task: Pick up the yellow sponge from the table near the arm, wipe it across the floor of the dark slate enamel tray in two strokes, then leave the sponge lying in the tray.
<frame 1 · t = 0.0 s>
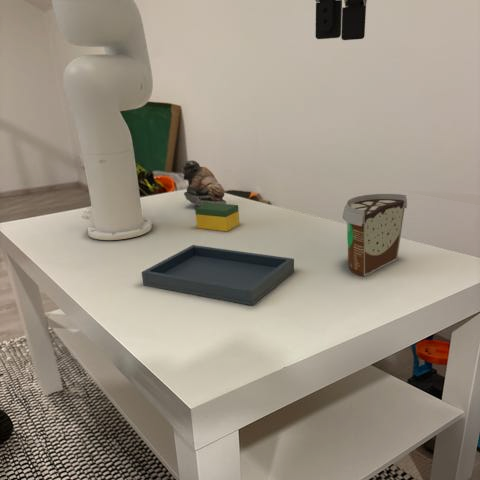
hand: (341, 38, 68), 31 cm above the table, tool pointing down, fingers open, 9 cm apart
sponge: (218, 226, 103), on the table
food container: (363, 264, 80), on the table
tray: (219, 278, 77), on the table
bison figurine: (204, 208, 117), on the table
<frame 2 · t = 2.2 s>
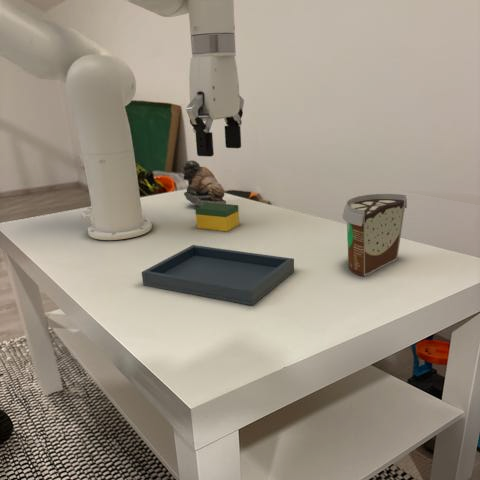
hand: (220, 151, 95), 15 cm above the table, tool pointing down, fingers open, 9 cm apart
nothing on the table moved.
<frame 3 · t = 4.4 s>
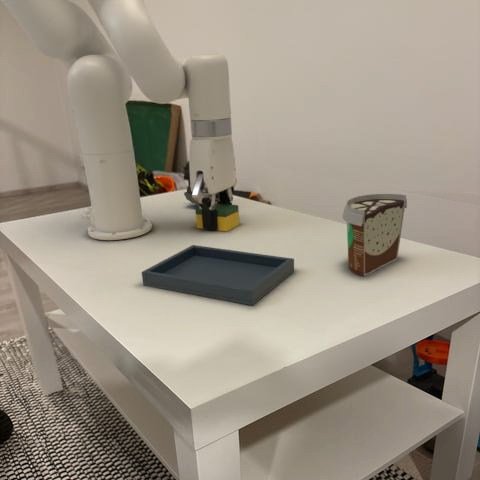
hand: (218, 224, 102), 0 cm above the table, tool pointing down, fingers closed on sponge, 5 cm apart
sponge: (218, 226, 103), on the table, touching gripper
everything else where it was.
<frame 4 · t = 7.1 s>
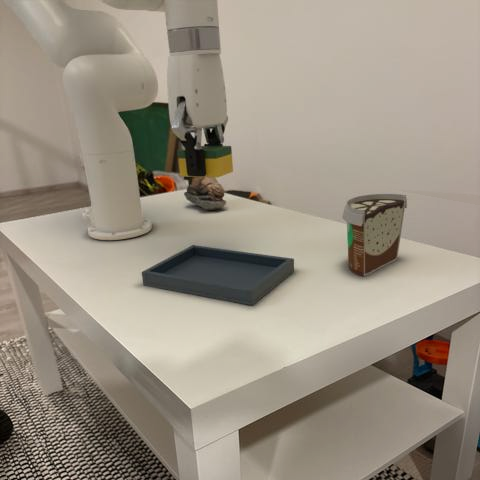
hand: (206, 171, 82), 14 cm above the table, tool pointing down, fingers closed on sponge, 5 cm apart
sponge: (206, 174, 82), point 13 cm above the table, touching gripper
everything else where it was.
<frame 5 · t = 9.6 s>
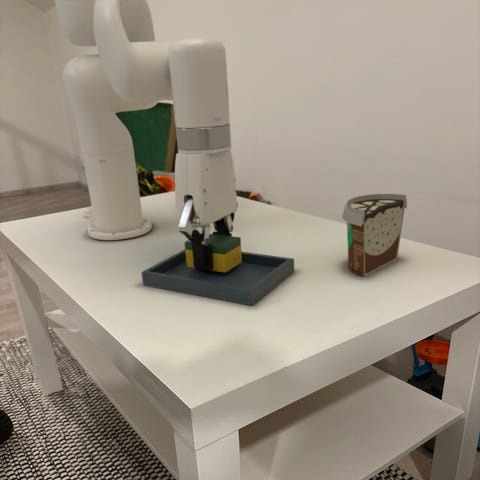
hand: (214, 261, 79), 2 cm above the table, tool pointing down, fingers closed on sponge, 5 cm apart
sponge: (214, 264, 79), point 1 cm above the table, touching gripper
everything else where it was.
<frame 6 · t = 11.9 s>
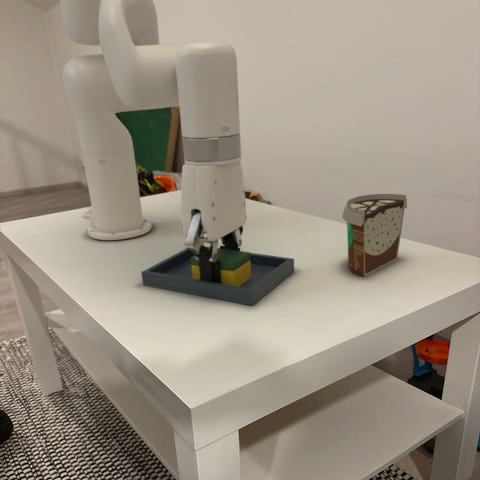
hand: (221, 277, 75), 1 cm above the table, tool pointing down, fingers closed on sponge, 5 cm apart
sponge: (222, 280, 75), point 1 cm above the table, touching gripper
everything else where it was.
when the fingers open (1 cm above the table, at t = 14.9 s): sponge stays where it is, resting on tray.
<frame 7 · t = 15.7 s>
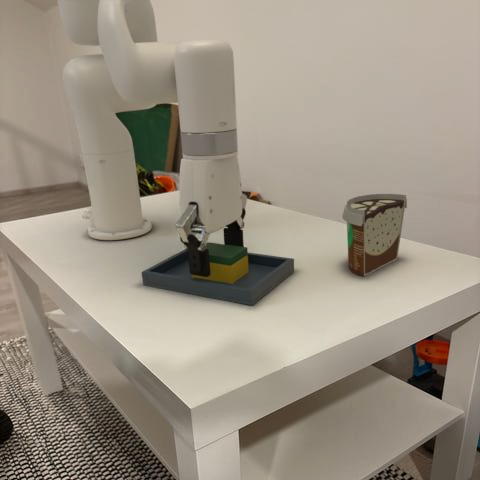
hand: (218, 263, 76), 2 cm above the table, tool pointing down, fingers open, 9 cm apart
sponge: (220, 274, 77), point 1 cm above the table, touching tray
everything else where it was.
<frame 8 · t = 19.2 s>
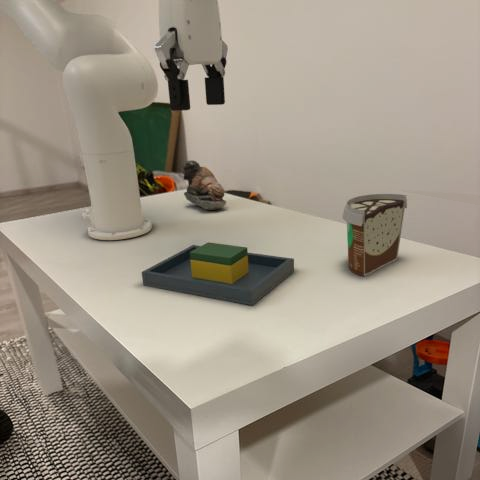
hand: (198, 107, 78), 23 cm above the table, tool pointing down, fingers open, 9 cm apart
nothing on the table moved.
at the end: sponge inside the target area in the tray (0.2 cm from its centre), point 0.6 cm above the tray's base; the gripper is holding nothing; sponge moved 28.5 cm from its start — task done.
